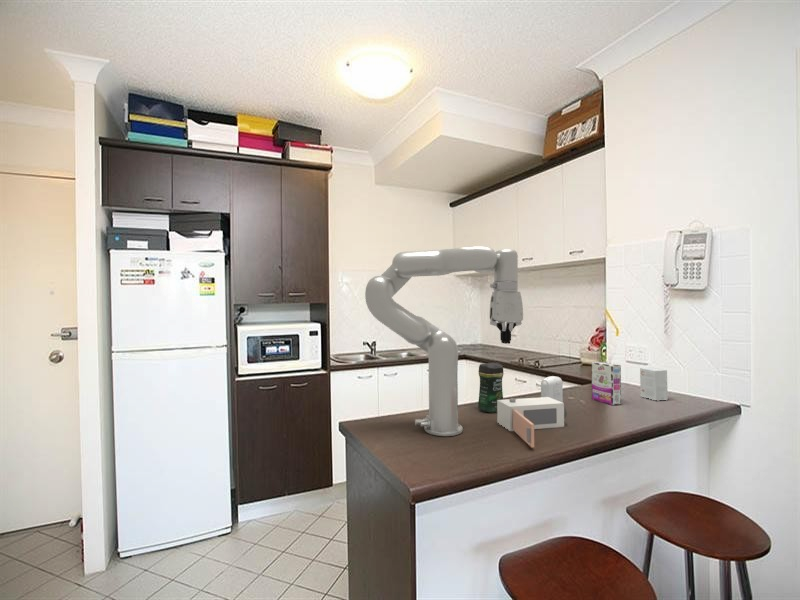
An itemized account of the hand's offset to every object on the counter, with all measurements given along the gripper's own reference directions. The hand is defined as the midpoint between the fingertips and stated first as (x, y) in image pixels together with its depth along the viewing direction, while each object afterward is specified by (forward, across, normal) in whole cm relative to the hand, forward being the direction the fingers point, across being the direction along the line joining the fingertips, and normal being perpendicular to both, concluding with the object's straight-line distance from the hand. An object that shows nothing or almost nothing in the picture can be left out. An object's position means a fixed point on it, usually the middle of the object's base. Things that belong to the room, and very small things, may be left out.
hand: (505, 343), depth 125 cm
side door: (+28, +1, -9) cm, 29 cm away
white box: (+29, +12, +4) cm, 32 cm away
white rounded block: (+29, +32, +24) cm, 49 cm away
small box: (+28, +83, +26) cm, 92 cm away
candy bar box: (+29, +59, +26) cm, 71 cm away
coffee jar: (+29, +6, +24) cm, 38 cm away
